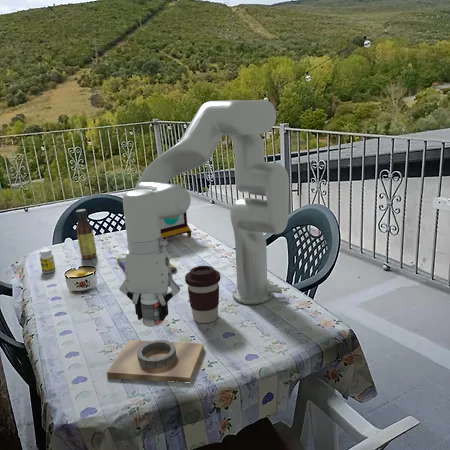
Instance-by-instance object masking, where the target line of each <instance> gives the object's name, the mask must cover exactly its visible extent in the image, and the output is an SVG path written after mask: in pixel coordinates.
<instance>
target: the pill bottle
mask: <svg viewBox="0 0 450 450" xmlns="http://www.w3.org/2000/svg"><path fill="white" fill-rule="evenodd" d="M140 301H141V310H142V319H141V320H142V324H143V325H144V326H145V327H148V328H154V327H158V326H160V325H162V324H163V322H164V321H161V320H160V314H159V305H160V300H159V298H158V295H157V294H151V293H141V300H140Z"/></svg>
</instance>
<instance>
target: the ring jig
mask: <svg viewBox="0 0 450 450" xmlns="http://www.w3.org/2000/svg"><path fill="white" fill-rule="evenodd" d="M204 349H205V346H204V343H200V342H199V343H197V342H196V343H195V342H176V341H169V340H164V339H163V340H162V339H157V340H139V339H137V340H136V339H129V340H127V342H126V344H125V345H124V347H122V349H121V350H120V352H119V354H118V355H117V356H116V358H115V360H114V361H113V362H112V364H111V366H110V367H109V368H108V369H107V371H106V376H107V378H108V379H118V380H119V379H122V380H135V381H148V382H149V381H151V382H162V381H167V382H166V383H169V382H168V381H171V382H170V383H177V382H191V383H192V381H191V379H192V380H193V378H192V377H194V376H195V373H194V372H196V370H197V367H198V364H199V363H200V359H201V358H202V354H203V352H204ZM193 375H194V376H193ZM172 381H174V382H172ZM176 381H177V382H176Z"/></svg>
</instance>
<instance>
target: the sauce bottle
mask: <svg viewBox="0 0 450 450" xmlns="http://www.w3.org/2000/svg"><path fill="white" fill-rule="evenodd" d="M87 213H88V211H87V209H85V208H82V209H81V208H80V209H76V210H75V214H76V216H77V217H76V218H77V225H76V226H75V229H76V236H77V242H78V246H79V252H80V255H81V258H82V259H84V260H90V259H94V258H95V257H97V254H98V253H97V247H96V243H95V237H94V230H93V229H94V228H93V226H92V225H91V223H90V221H89V219H88V215H87Z"/></svg>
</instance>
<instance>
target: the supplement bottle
mask: <svg viewBox="0 0 450 450" xmlns="http://www.w3.org/2000/svg"><path fill="white" fill-rule="evenodd" d="M39 255H40V256H39V261H40V265H41V266H40V267H41V271H42V273H43V274H49V273H50V274H51V273H52V272H55V271H56V266H55V259H54V254H53V251H52V249H51V248H43V249H41V250H39Z"/></svg>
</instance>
